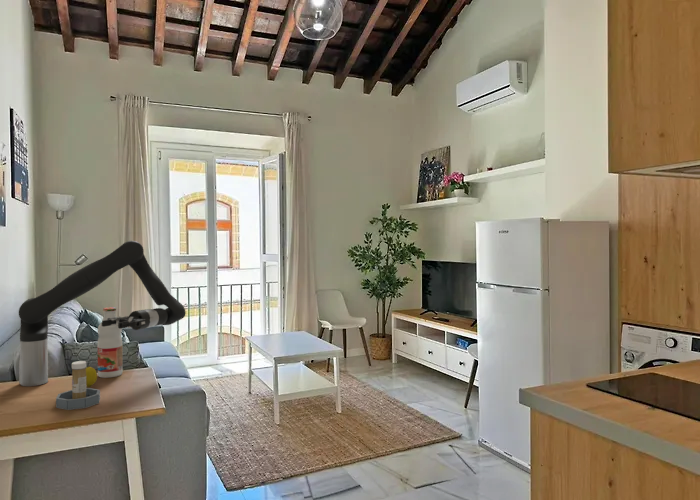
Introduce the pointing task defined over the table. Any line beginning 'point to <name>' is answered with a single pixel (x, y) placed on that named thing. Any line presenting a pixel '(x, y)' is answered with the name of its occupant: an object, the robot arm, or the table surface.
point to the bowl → (77, 400)
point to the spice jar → (79, 379)
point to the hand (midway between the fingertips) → (110, 324)
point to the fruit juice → (109, 347)
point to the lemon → (90, 376)
